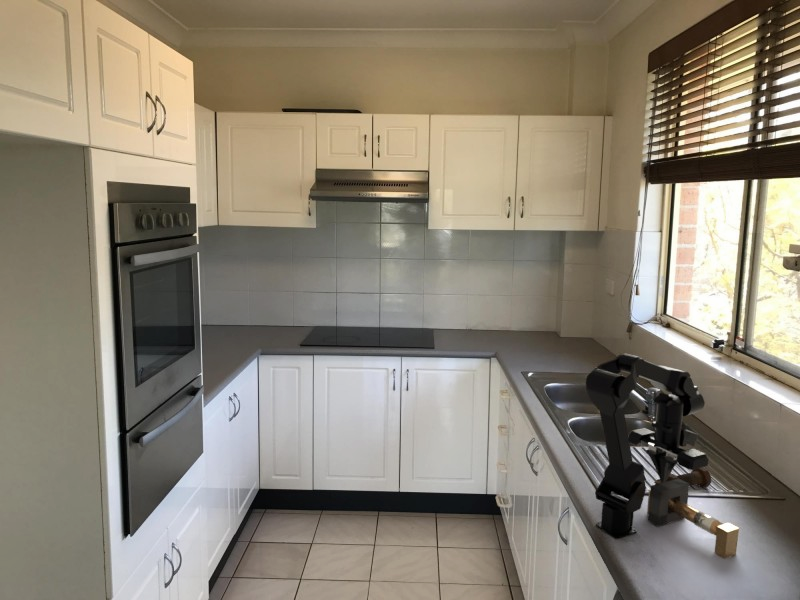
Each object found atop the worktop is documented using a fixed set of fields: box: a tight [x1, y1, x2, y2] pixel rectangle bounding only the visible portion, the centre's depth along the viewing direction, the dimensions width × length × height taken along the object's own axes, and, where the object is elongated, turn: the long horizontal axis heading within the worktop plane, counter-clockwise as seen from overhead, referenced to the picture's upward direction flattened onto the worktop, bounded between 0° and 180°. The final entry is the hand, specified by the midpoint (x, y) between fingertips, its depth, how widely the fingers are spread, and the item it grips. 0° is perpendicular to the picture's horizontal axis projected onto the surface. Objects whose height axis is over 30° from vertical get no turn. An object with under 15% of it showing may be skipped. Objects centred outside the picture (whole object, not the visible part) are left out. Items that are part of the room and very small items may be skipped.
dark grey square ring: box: [647, 479, 690, 527], centre depth 141 cm, size 3×9×9 cm, turn 116°
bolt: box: [653, 467, 712, 489], centre depth 158 cm, size 6×5×15 cm
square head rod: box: [646, 489, 740, 560], centre depth 136 cm, size 20×4×6 cm, turn 26°
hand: (663, 481), depth 147 cm, fingers closed
